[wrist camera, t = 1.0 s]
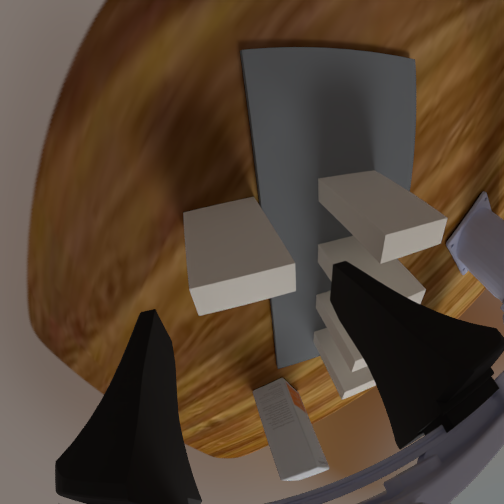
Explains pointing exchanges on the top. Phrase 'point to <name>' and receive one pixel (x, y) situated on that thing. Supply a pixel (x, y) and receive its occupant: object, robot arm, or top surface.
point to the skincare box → (289, 431)
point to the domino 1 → (235, 256)
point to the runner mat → (321, 156)
